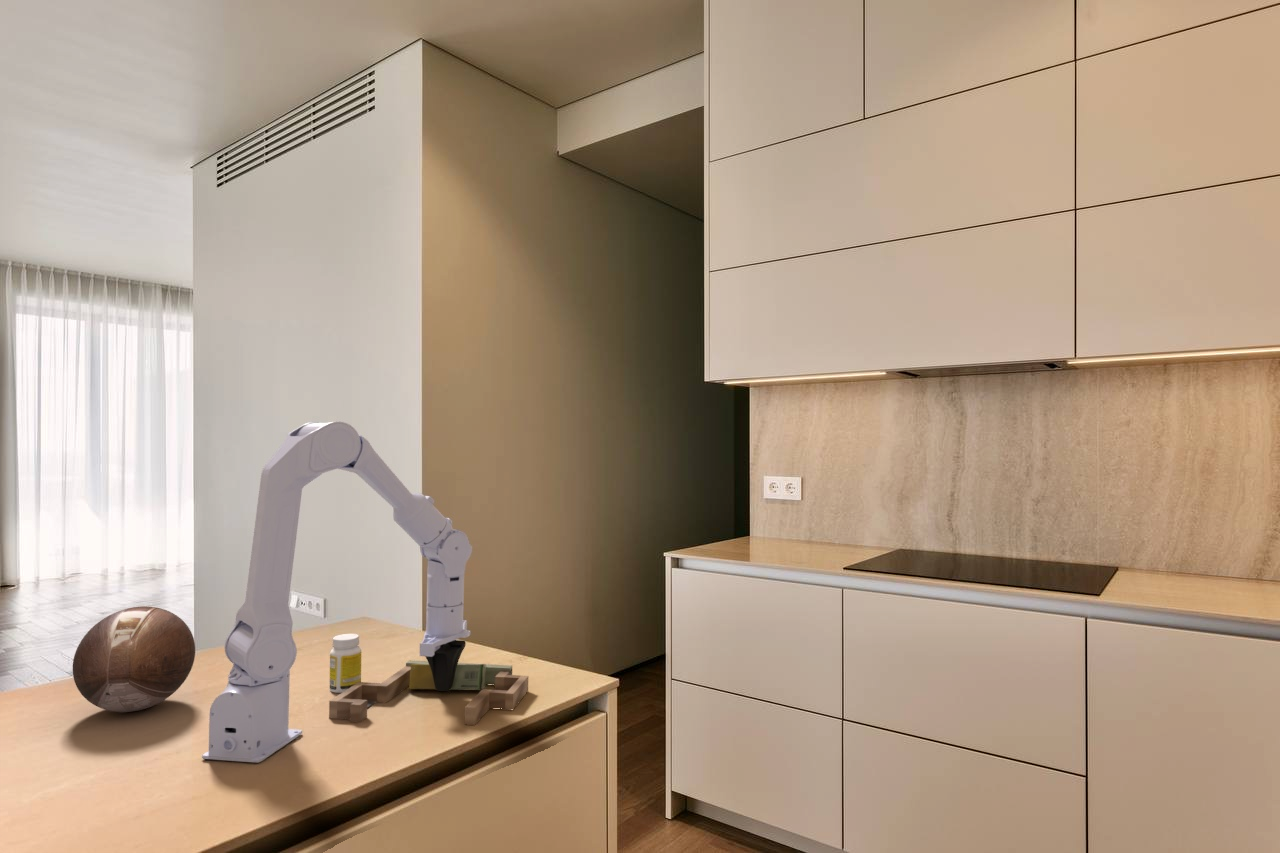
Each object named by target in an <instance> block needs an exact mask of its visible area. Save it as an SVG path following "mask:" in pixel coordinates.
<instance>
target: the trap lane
mask: <svg viewBox="0 0 1280 853" xmlns="http://www.w3.org/2000/svg"><path fill="white" fill-rule="evenodd" d="M411 664H429V663H428V661H427V660H412V659H411V660H408V661H407V662H405V666H403V667H402V668H400V669H399V670H398V671H397V672H395V673H394V674H392V675H390V676H389V677H388V678H386V679H385V680H383V681H382V682H381V683H380V682H369V681H368V682H365V681H361V682H358V683H356V684H355V685H353V686H352V687H350V688H349V689H347V690H346V691H344V692H342V693H338V694H337V695H336V696H335V697H334V698H331V699H330V700H329V701H328V702H329V703H328V705H329V706H328V719H332V720H333V719H335V720H349V722H350V723H361V722H363V721H364V720H365V719H367V718H368V709H369V708H370V707H372V705H375V703H388V702H389V701H390V700H392V699H393V698H394V697H396V696H397V695H398V694H399V693H401V692H402V691H404V690H405V689H406V688H407V687H409V683H410V672H411ZM458 664H473V663H469V662H458ZM485 664H486V680H485V684H494V685H495V686H494V689H486V688H485V689H482V690H479V692H478V693H477V694H476V695H475V696H474V697H473V698H471V700H470V701H469V702H468V703H467V705H465V706H464V725H466V724H467V725H466V726H476V724H478V722H479V721H480V720H481V719H482V718H483V717H484V715H485V714H486V713H487V712H488V711H489V710H490V709H489V708H500V709H501V708H502V709H514V707H515V706H516V705H517V704H518V702H519V701H520V700H521V698H522V697H523V696H524V695H525V694H526V692H527V691H528V692H529V675H517V674H513V665H509V664H490V663H485ZM528 692H527V693H528ZM526 695H527V694H526ZM526 695H525V696H526ZM525 696H524V697H525ZM524 697H523V698H524ZM521 701H522V700H521ZM521 701H520V702H521ZM520 702H519V703H520ZM518 705H519V704H518ZM518 705H517V706H518ZM517 706H516V707H517ZM516 707H515V708H516ZM488 709H489V710H488ZM487 710H488V711H487ZM514 710H515V709H514ZM486 711H487V712H486ZM485 712H486V713H485ZM484 713H485V714H484ZM482 716H483V717H482ZM481 717H482V718H481ZM480 718H481V719H480ZM479 719H480V720H479ZM478 720H479V721H478ZM477 721H478V722H477Z"/></svg>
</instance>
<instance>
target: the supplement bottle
mask: <svg viewBox="0 0 1280 853" xmlns="http://www.w3.org/2000/svg"><path fill="white" fill-rule="evenodd" d="M359 645H360V635H359V634H357V633H343V634H338V635H335V636H334V637H333V638H332V647H333V648H332V649H331V650H330V652H329V691H330V692H332V693H337V694H341V693H342V692H344V691H346V690H347V689H349V688H350V687H352V686H353V685H355V684H356V683H358V682H362V648H361V647H360V646H359Z"/></svg>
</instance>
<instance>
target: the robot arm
mask: <svg viewBox="0 0 1280 853" xmlns="http://www.w3.org/2000/svg"><path fill="white" fill-rule="evenodd" d="M337 469H338V470H342V471H346V472H350V473H354V474H356V475H357V476H358V477H359V478H360V479H362V481H364V482H365V483H366V484H367V485H368V486H369V487H370V488H371V489H373V491H375V492H376V493H377V494H378V495H379V496H380V497H381V498H382V499H383V500H385V501H386V502H387V503H388V504H389V505H390V506H391V507H392V508H393V513H392V514H393V515H392V516H393V521H394V522H395V523H396V524H397V525H399V527H400V528H401V529H402V530H403V531H404V532H405V533H406V534H407V535H408V536H409V537H410V539H412V540H413V541H414V542H415V543H416V544H417V545H418V546H419V549H420V554H421V556H422V557H423V558H425V559H427V571H426V572H427V573H426V574H427V575H426V576H427V577H426V579H427V580H426V614H425V615H426V618H425V619H426V621H425V622H426V623H425V624H426V626H425V631H424V634H423V639H422V641H421V642H420V643H419V657H425V659H426V661H428V663H429V665H430V668H431V671H432V675H433V679H434V684H435V688H436V689H435V690H436V691H440V692H441V691H442V692H449V691H450V690H452V689H451V687H452V684H453V680H454V676H455V671H456V667H457V664H458V663H459V660H460V658H461V655H462V654H463V651H464V650H465V647H466V640H459V639H467V638H468V637H470V636H471V630H468V629H467V628H468V621H467V619H466V620H464V610H465V609H464V608H465V607H464V604H465V602H464V601H465V597H464V596H465V573H466V565H467V562H468V561H469V559H470V558H471V555H472V553H473V545H471V544H470V541H469V540H470V539H469V537H468V535H467V534H466V532H464V531H462V530H459V529H455V528H453V520H452V519H451V518H449V517H445V516H444V515H443V514H442V513H441V512H440V510H438V508H437V507H436V506H435V505H434V504H435V499H433V497H432V496H429V495H424V494H423V493H420V492H419V493H418V492H417V493H412V492H411V491H410V490H409V489H408V488H407V486H405V485H404V483H403V482H402V481H401V480H400V478H399V477H398V476H397V475H396V473H394V472H393V471H392V469H391V468H390V467H389V466H388V465H387V464H386V462H385V461H384V459H382V457H381V456H380V455H379V454H378V453H377V452H376V451H375V449H374V448H373V446H372V444H371V443H370V442H369V440H368V439H367V438H365V437H364V436H363V435H359V432H358V431H357V430H356V429H355V427H354V426H352V425H351V424H350V423H347V422H344V421H337V420H336V421H331V422H318V421H317V422H316V421H312V422H307V423H304V424H302V425H301V426H298V427H297V428H295V429H294V430H291V431H290V432H288V433H287V434H286V437H285V439H284V441H283V443H282V444H281V445H280V447H279V448H278V449H277V450H276V451H275V452H274V453H273V455H272V457H271V458H270V459H269V460H268V461H267V462H266V464H265V465H264V466H263V468H262V471H261V475H260V481H259V482H260V483H259V491H258V498H257V505H256V513H255V521H254V529H253V530H254V531H253V536H252V537H253V538H252V543H251V544H252V545H251V551H250V552H251V555H250V560H249V567H248V568H249V569H248V576H247V583H246V584H247V585H246V591H245V592H246V593H245V601H244V603H243V604H242V605H241V607H240V608H239V609H238V610H237V612H236V615H235V621H234V625H233V627H232V628H231V630H230V631H229V633H228V635H227V637H226V638H225V641H224V642H225V643H224V653H225V657H226V658H227V659H228V660H229V662H231V663H232V664H233V665H232V668H231V669H230V671H229V674H228V681H227V685H226V687H225V689H224V690H223V691H222V692H221V694H219V695H218V696H217V697H216V698H215V699H214V700H213V702H211V703H212V704H211V706H210V709H209V714H208V715H209V717H208V718H209V719H208V720H209V721H208V722H209V724H208V726H209V727H208V751H206V752H204V753H203V754H202V756H201V759H203V760H214V761H228V762H229V761H231V762H244V763H257V764H258V763H261V762H263V761H264V760H265V759H267V758H268V757H270V756H271V755H273V754H274V753H275V752H278V750H280V749H282V748H283V747H285V746H286V745H288V744H289V743H290V742H291V741H293V740H295V739H296V738H298V737H299V736H300V735H302V734H303V729H297V728H294V729H293V728H289V726H290V725H289V724H290V721H289V720H290V719H289V716H290V679H291V678H290V677H291V676H290V672H291V668H293V665H294V663H295V662H296V659H297V654H298V653H297V651H298V650H297V645H296V642H295V640H294V638H293V624H294V623H293V619H292V614H291V610H290V607H289V600H290V591H291V583H292V578H293V576H292V574H293V568H294V558H295V551H296V543H297V542H296V541H297V536H298V525H299V518H300V510H301V509H300V508H301V501H302V493H303V492H302V491H303V488H304V487H306V486H307V485H308V484H310V483H311V482H313V481H315V480H316V479H317V478H318V477H320V476H322V475H323V474H324V473H329V472H331V471H334V470H337Z"/></svg>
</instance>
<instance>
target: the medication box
mask: <svg viewBox="0 0 1280 853" xmlns="http://www.w3.org/2000/svg"><path fill="white" fill-rule="evenodd" d="M486 664H487V663H472V664H457V667H456V671H455V676H454V680H453V684H452V687H451V689H450V690H479V691H481V690H482V689H486V685H485V680H486ZM408 690H436V688H435V684H434V679H433V675H432V671H431V668H430V665H429V664H411V672H410V683H409V686H408Z"/></svg>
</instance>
